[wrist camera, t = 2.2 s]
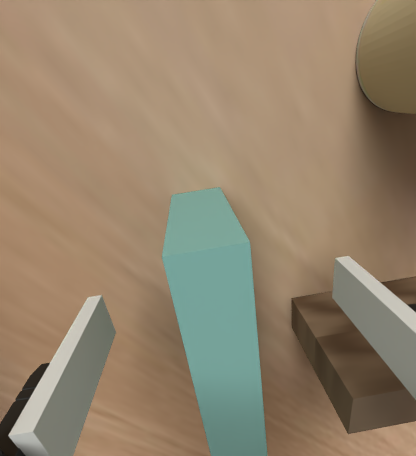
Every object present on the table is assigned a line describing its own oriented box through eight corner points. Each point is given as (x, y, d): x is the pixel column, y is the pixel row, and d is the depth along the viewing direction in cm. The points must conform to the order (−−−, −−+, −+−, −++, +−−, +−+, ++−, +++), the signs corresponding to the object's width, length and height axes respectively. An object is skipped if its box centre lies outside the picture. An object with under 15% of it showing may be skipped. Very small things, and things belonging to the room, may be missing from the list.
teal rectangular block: (207, 366, 25) (218, 485, 17) (171, 194, 18) (161, 256, 10) (241, 360, 25) (268, 475, 17) (219, 187, 18) (249, 242, 10)
